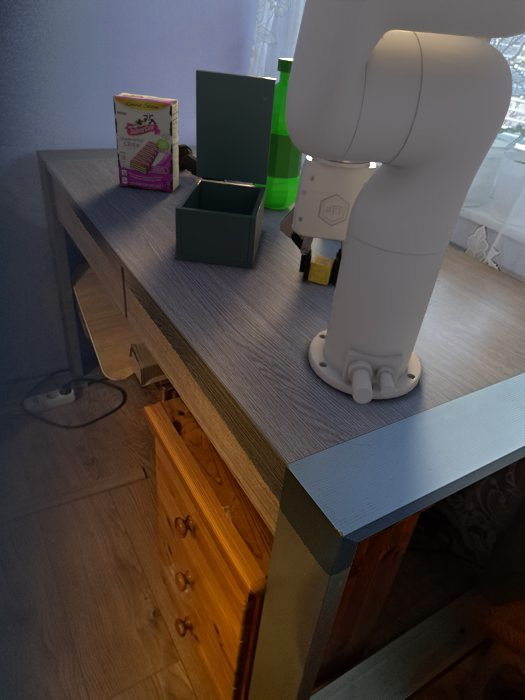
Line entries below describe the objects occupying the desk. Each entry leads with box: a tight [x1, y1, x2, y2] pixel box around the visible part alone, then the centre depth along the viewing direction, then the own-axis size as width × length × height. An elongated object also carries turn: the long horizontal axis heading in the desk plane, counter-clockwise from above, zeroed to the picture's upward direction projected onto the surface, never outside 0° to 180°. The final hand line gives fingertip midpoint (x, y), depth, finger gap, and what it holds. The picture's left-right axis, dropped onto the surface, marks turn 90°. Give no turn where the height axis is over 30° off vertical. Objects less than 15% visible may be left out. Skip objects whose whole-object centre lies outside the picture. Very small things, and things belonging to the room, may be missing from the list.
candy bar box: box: [112, 92, 180, 193], centre depth 94 cm, size 11×5×16 cm, turn 84°
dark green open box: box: [174, 178, 266, 269], centre depth 76 cm, size 15×12×8 cm
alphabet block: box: [307, 254, 335, 286], centre depth 71 cm, size 3×3×3 cm
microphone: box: [178, 143, 226, 182], centre depth 105 cm, size 6×6×20 cm
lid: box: [195, 69, 277, 185], centre depth 77 cm, size 15×12×6 cm
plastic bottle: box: [251, 57, 303, 211], centre depth 89 cm, size 10×10×25 cm
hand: (320, 277), depth 71 cm, fingers closed on alphabet block, 3 cm apart
